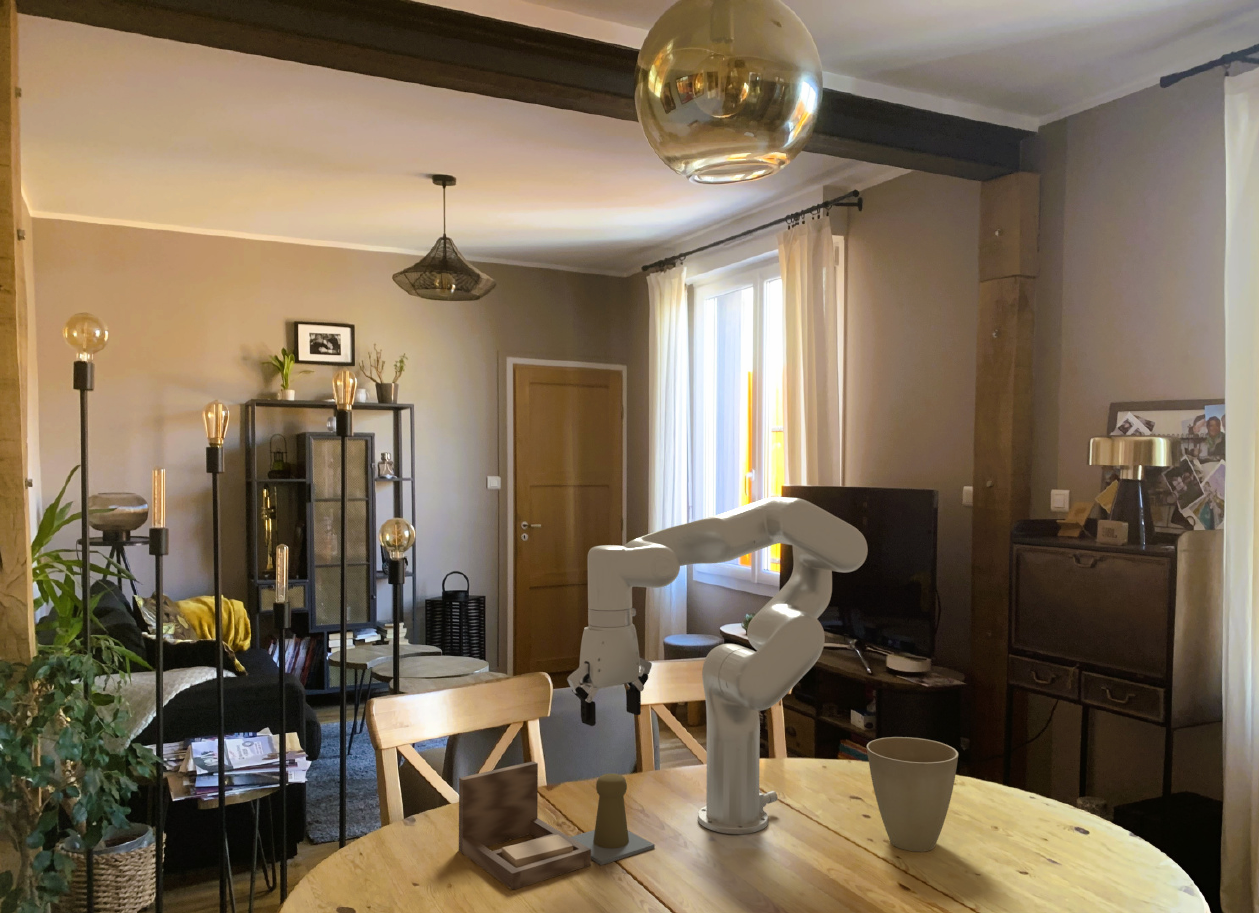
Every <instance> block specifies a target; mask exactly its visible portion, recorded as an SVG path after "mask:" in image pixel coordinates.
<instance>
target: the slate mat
mask: <svg viewBox="0 0 1259 913" xmlns="http://www.w3.org/2000/svg"><path fill="white" fill-rule="evenodd" d="M594 833H595V829H594V830H589V831H587V832H583V833H578V834H576V835H573V836H570V837H571V838H572V839H574V840H576V841H577V842H579V843H581V844H583V845H584V846H586V847H588V848H589V849H591V861H594V862H596V864H598V865H599V866H600V865H601V866H603V865H605V864H609V863H613V862H615V861H619V860H621V859H625V858H627V857H631V856H635V855H638V854H640V853H644V852H647V851H650V850H653V849H655V846H656V845H655V844H654V843H652V842H651V841H649V840H648V839H645V838H643V837H642V836H639V835H637V834H636V833H634V832H632V831H630V830H628V837H629V843H628V844H627V845H626V846H623V847H620V848H611V849H609V848H602V847H599V846H597V845H595V844H594V841H593V840H594Z"/></svg>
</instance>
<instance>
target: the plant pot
mask: <svg viewBox="0 0 1259 913" xmlns="http://www.w3.org/2000/svg"><path fill="white" fill-rule="evenodd" d="M866 751H867V758H868V765H869V766H868V767H869V772H870V777H871V782H872V786H873V791H874V796H875V799H876V803H877V806H878V810H879V814H880V816H881V820H882V822H883V823H882V824H883V826H884V828H885V832H886V834H887V836H888V839H889V842H890V843H891V845H893V846H894V847H895V848H898V849H901V850H905V851H909V852H910V851H911V852H921V853H922V852H928V851H931V850H933V849H934V848H935V847H936V844H937V842H938V839H939V837H940V836H941V832H942V829H943V827H944V824H945V820H946V818H947V815H948V811H949V807H950V803H951V799H952V795H953V792H954V791H953V790H954V786H955V780H956V774H957V767H958V761H959V759H958V758H959V752H958V751H957V750H956V748H954V747H952V746H950V745H948V744H947V743H946V744H945V743H944V742H940V741H936V740H931V739H926V738H919V737H909V736H908V737H907V736H905V737H903V736H891V737H889V736H888V737H881V738H877V739H874V740H871V741H869V742H868V743H867V744H866Z"/></svg>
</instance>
